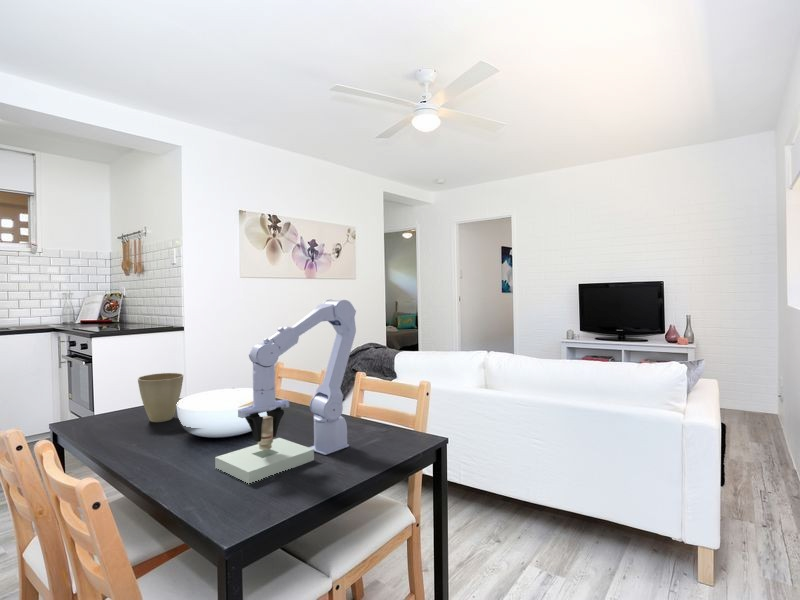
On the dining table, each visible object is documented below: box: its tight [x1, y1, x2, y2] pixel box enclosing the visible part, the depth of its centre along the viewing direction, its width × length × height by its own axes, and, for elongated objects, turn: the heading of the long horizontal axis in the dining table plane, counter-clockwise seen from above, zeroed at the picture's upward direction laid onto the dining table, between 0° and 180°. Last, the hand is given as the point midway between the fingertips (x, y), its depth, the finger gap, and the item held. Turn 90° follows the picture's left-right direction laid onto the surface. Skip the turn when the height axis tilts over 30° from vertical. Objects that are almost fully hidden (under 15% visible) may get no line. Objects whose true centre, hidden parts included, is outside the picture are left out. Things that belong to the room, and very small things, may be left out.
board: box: [214, 437, 315, 485], centre depth 122 cm, size 20×16×3 cm
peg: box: [257, 415, 274, 450], centre depth 122 cm, size 4×4×8 cm
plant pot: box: [137, 372, 184, 423], centre depth 167 cm, size 15×15×16 cm
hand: (265, 438), depth 122 cm, fingers closed on peg, 4 cm apart
